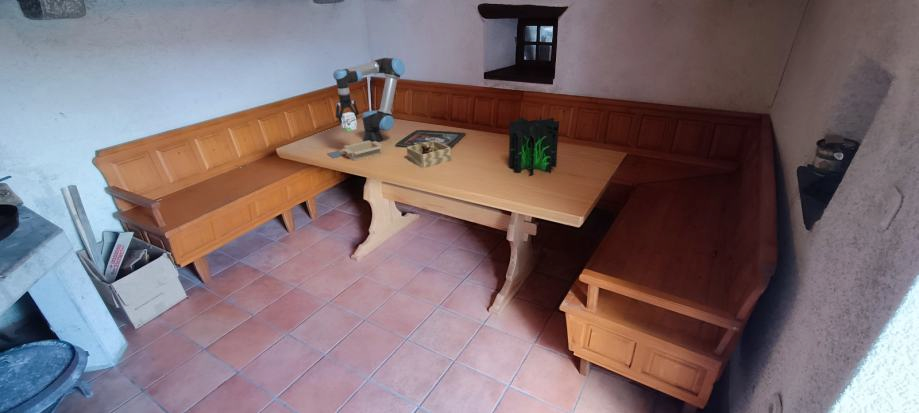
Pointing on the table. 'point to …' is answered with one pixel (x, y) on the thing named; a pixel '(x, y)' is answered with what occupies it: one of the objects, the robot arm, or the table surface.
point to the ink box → (349, 121)
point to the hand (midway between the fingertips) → (349, 126)
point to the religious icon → (431, 138)
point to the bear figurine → (426, 149)
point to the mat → (335, 154)
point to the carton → (362, 150)
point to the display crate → (429, 154)
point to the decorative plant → (533, 145)
